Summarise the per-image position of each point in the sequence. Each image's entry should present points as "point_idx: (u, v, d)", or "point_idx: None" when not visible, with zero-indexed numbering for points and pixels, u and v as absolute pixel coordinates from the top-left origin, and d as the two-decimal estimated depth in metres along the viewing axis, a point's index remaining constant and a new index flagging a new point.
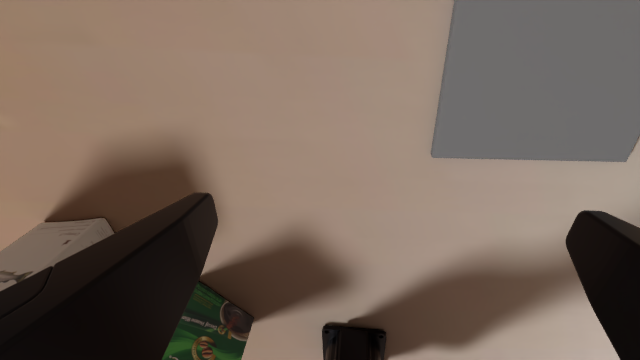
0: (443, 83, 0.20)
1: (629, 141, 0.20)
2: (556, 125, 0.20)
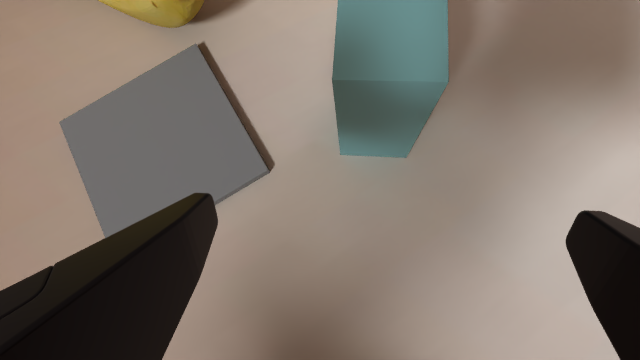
0: (91, 199, 0.23)
1: (254, 156, 0.23)
2: (192, 177, 0.23)
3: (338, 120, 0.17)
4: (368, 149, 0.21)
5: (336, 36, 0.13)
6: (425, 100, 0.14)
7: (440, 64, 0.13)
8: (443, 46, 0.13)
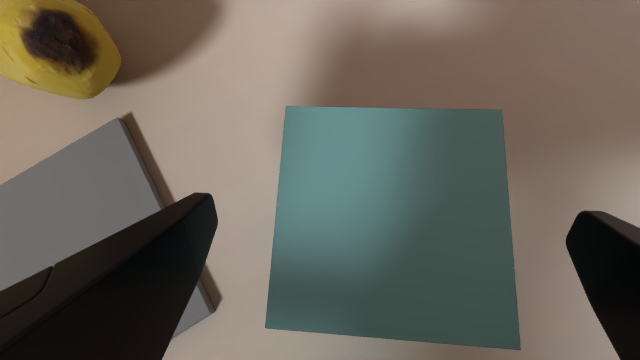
0: None
1: None
2: None
3: None
4: None
5: (277, 222, 0.06)
6: None
7: (499, 302, 0.06)
8: (503, 257, 0.06)
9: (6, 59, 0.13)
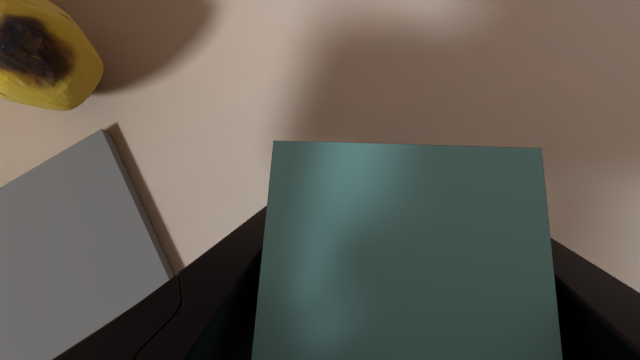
0: None
1: None
2: None
3: None
4: None
5: (261, 289, 0.05)
6: None
7: None
8: (549, 342, 0.05)
9: None
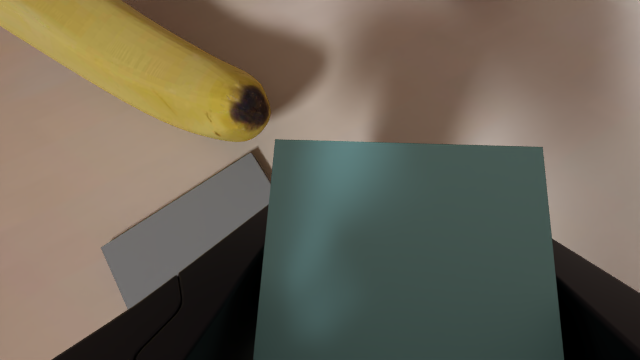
0: None
1: None
2: None
3: None
4: None
5: (262, 288, 0.05)
6: None
7: None
8: (550, 340, 0.05)
9: (203, 120, 0.18)
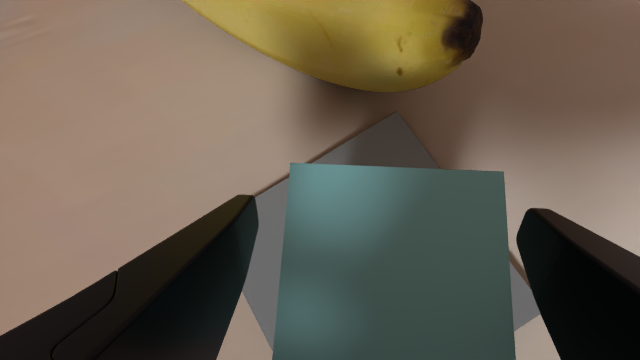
0: (272, 349, 0.16)
1: (519, 286, 0.15)
2: None
3: None
4: None
5: (281, 282, 0.07)
6: None
7: None
8: (504, 323, 0.06)
9: (388, 50, 0.13)
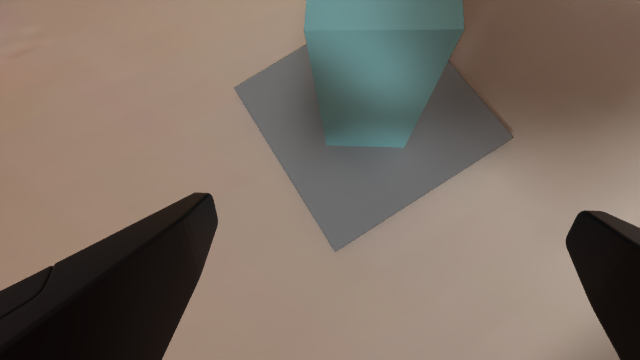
0: None
1: (492, 121, 0.19)
2: (416, 148, 0.19)
3: (319, 96, 0.13)
4: (359, 137, 0.18)
5: None
6: (430, 62, 0.11)
7: (451, 6, 0.09)
8: None
9: None
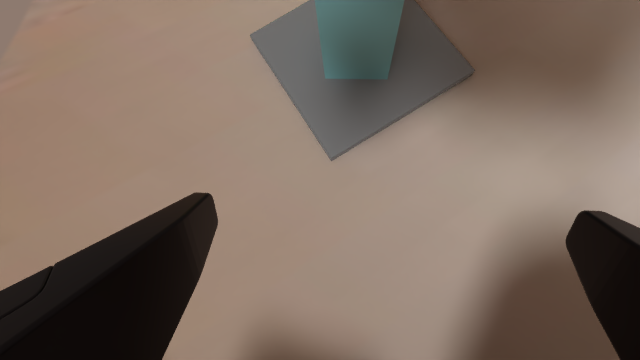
0: (295, 104, 0.24)
1: (458, 58, 0.23)
2: (397, 79, 0.23)
3: (319, 20, 0.18)
4: (350, 67, 0.22)
5: None
6: None
7: None
8: None
9: None
